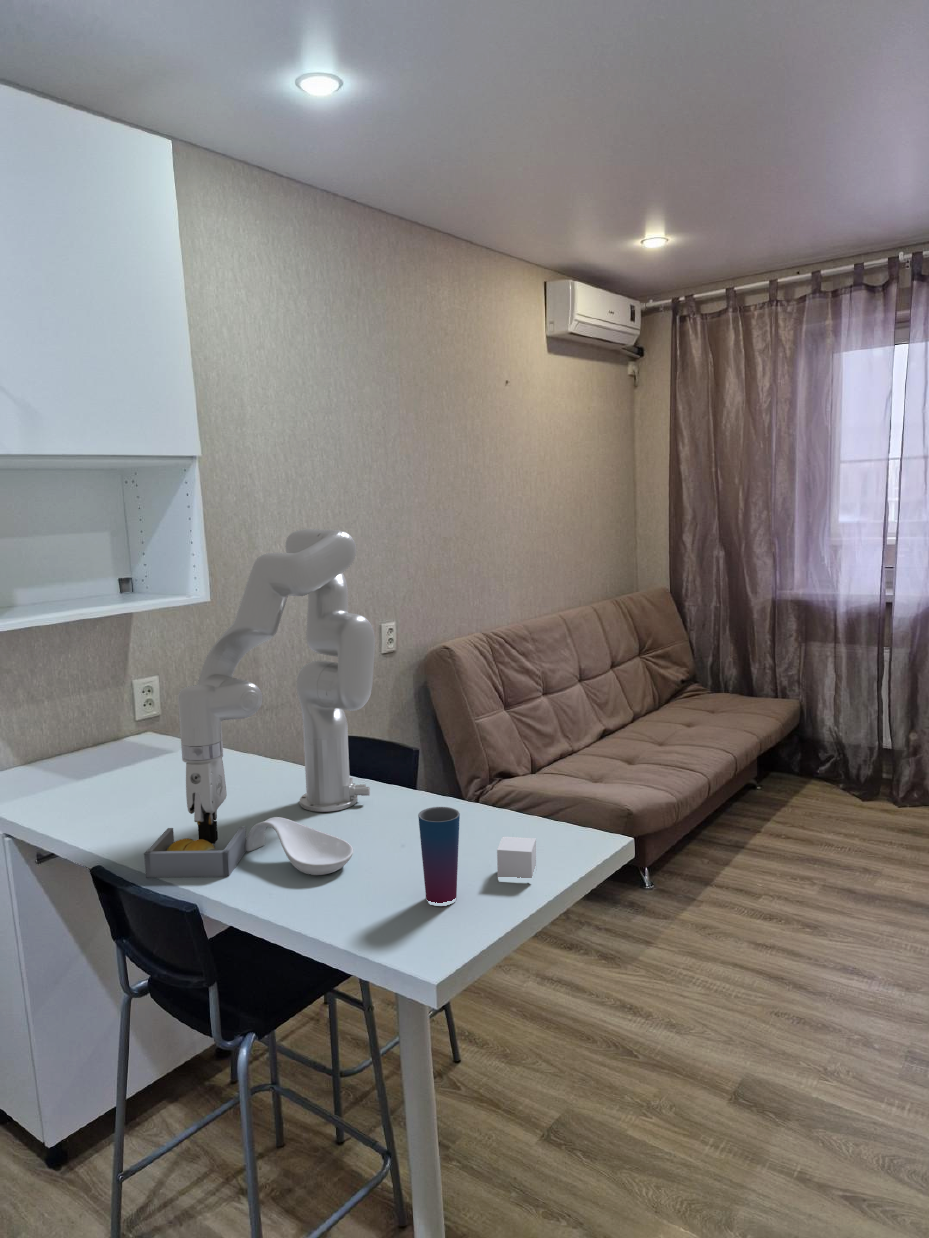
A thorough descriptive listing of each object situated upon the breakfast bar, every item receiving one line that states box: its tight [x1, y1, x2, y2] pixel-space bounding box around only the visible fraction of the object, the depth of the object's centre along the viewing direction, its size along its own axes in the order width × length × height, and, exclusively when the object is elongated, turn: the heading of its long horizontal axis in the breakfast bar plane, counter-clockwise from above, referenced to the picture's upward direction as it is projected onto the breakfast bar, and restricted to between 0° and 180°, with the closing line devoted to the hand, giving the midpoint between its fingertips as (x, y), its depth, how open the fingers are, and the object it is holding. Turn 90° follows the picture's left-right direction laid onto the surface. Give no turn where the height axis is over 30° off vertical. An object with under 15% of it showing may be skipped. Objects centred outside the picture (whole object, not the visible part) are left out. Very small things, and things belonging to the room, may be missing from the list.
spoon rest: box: [245, 816, 354, 876], centre depth 162 cm, size 24×12×7 cm, turn 57°
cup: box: [417, 806, 461, 903], centre depth 145 cm, size 7×7×15 cm
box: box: [143, 826, 247, 878], centre depth 163 cm, size 15×12×4 cm
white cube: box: [496, 836, 537, 878], centre depth 154 cm, size 6×6×6 cm
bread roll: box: [166, 838, 217, 851], centre depth 164 cm, size 8×9×4 cm
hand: (208, 841), depth 169 cm, fingers closed
